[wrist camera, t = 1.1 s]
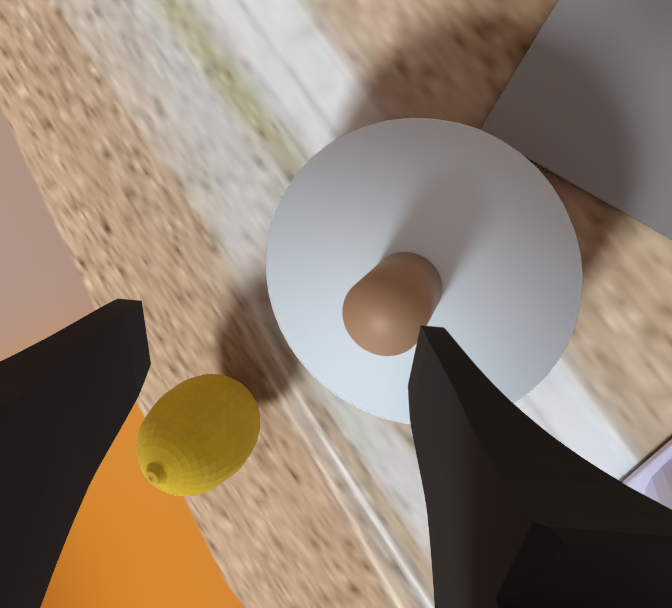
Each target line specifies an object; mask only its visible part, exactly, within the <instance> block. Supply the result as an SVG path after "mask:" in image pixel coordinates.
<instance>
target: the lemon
mask: <svg viewBox="0 0 672 608" xmlns="http://www.w3.org/2000/svg"><path fill="white" fill-rule="evenodd" d="M259 430H260V413H259V409H258V406H257V403H256V401H255V399H254V397H253V395H252V394H251V393H250V391H249V390H248V389H247V388H246V387H245V386H244V385H243V384H241V383H240V382H239V381H237V380H235V379H233V378H230V377H227V376H224V375H218V374H206V375H201V376H197V377H194V378H190V379H188V380H185V381H184V382H182V383H180V384H178V385H177V386H175V387H174V388H173V389H171V390H170V391H168V392H167V393H166V394H165V395H163V396H162V397H161V398H160V399H159V400H158V401H157V403H156V404H155V405H154V406H153V408H152V409H151V410H150V412H149V413H148V415H147V416H146V418H145V419H144V421H143V422H142V424H141V427H140V430H139V434H138V437H137V444H136V450H137V451H136V452H137V459H138V463H139V466H140V468H141V470H142V472H143V474H144V476H145V477H146V478H147V480H148V481H149V482H150V483H151V484H152V485H154V486H155V487H157V488H158V489H160V490H162V491H164V492H166V493H169V494H172V495H176V496H193V495H198V494H201V493H204V492H207V491H210V490H211V489H213V488H215V487H217V486H218V485H220V484H221V483H223V482H224V481H225V480H227V479H228V478H229V477H231V476H232V475H233V474H234V473H236V472H237V471H238V470H239V469H240V468H241V467H242V465H243V464H244V463H245V461H246V460H247V458H248V457H249V455H250V454H251V452H252V450H253V449H254V447H255V444H256V442H257V438H258V434H259Z"/></svg>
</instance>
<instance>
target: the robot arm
mask: <svg viewBox="0 0 672 608" xmlns="http://www.w3.org/2000/svg"><path fill="white" fill-rule="evenodd" d="M150 365H151V361H150V355H149V348H148V341H147V334H146V327H145V321H144V314H143V307H142V301H137V300H126V299H116V300H114V301H112V302H110V303H108V304H106V305H104V306H103V307H101V308H99V309H97V310H95V311H94V312H92V313H90V314H88V315H87V316H85V317H83V318H81V319H80V320H78V321H76V322H75V323H73V324H71V325H69V326H67V327H66V328H64V329H62V330H60V331H58V332H57V333H55V334H53V335H51V336H50V337H48V338H46V339H44V340H42V341H40V342H38V343H36V344H34V345H32V346H30V347H28V348H27V349H25V350H23V351H21V352H19V353H17V354H15V355H13V356H11V357H9V358H7V359H5V360H3V361H0V608H40V607H41V604H42V601H43V598H44V596H45V593H46V591H47V588H48V585H49V582H50V580H51V577H52V574H53V572H54V569H55V566H56V564H57V561H58V559H59V556H60V554H61V551H62V549H63V546H64V544H65V541H66V539H67V536H68V534H69V531H70V529H71V526H72V524H73V521H74V519H75V517H76V514H77V512H78V510H79V508H80V505H81V503H82V500H83V498H84V496H85V494H86V491H87V489H88V487H89V485H90V483H91V481H92V479H93V477H94V475H95V473H96V471H97V469H98V467H99V466H100V464H101V462H102V460H103V458H104V457H105V455H106V453H107V451H108V450H109V448H110V446H111V444H112V443H113V441H114V439H115V437H116V436H117V434H118V432H119V430H120V429H121V427H122V425H123V423H124V422H125V420H126V418H127V416H128V414H129V412H130V411H131V409H132V407H133V405H134V403H135V402H136V400H137V398H138V396H139V394H140V391H141V389H142V386H143V384H144V381H145V378H146V376H147V373H148V370H149V368H150ZM408 400H409V415H410V423H411V428H412V434H413V439H414V444H415V449H416V454H417V459H418V464H419V469H420V474H421V479H422V484H423V489H424V494H425V501H426V507H427V514H428V525H429V536H430V547H431V559H432V572H433V585H434V600H435V608H672V439H671V440H670V441H669V442H667V443H666V444H665V445H664V446H663V447H662V448H661V449H659V450H658V451H657V452H656V453H655V454H654V455H653V456H651V457H650V458H649V459H648V460H647V461H646V462H644V463H643V464H642V465H641V466H640V467H639V468H638V469H636V470H635V471H634V472H633V473H632V474H631V475H630V476H628V477H627V478H626V479H625V480H624V481H623V482H620V481H619V480H617V479H615V478H614V477H612V476H610V475H609V474H607V473H605V472H604V471H602V470H600V469H599V468H597V467H596V466H594V465H593V464H591V463H590V462H588V461H587V460H585V459H584V458H582V457H581V456H579V455H578V454H576V453H575V452H573V451H572V450H571V449H569V448H568V447H566V446H565V445H564V444H562V443H561V442H559V441H558V440H557V439H555V438H554V437H553V436H551V435H550V434H549V433H547V432H546V431H545V430H544V429H542V428H541V427H540V426H539V425H538V424H536V423H535V422H534V421H533V420H532V419H530V418H529V417H528V416H527V415H526V414H524V413H523V412H522V411H521V410H520V409H519V408H518V407H517V406H515V405H514V404H513V403H512V402H511V401H510V400H509V399H508V398H507V397H506V396H505V395H504V394H503V393H502V392H501V391H500V390H499V389H498V388H497V387H496V386H495V385H494V384H493V383H492V382H491V381H490V380H489V379H488V378H487V377H486V376H485V374H484V373H483V372H482V371H481V370H480V369H479V368H478V367H477V366H476V364H475V363H474V362H473V361H472V360H471V359H470V358H469V356H468V355H467V354H466V353H465V352H464V350H463V349H462V348H461V347H460V346H459V344H458V343H457V342H456V341H455V340H454V338H453V337H452V336H451V335H450V334H449V332H448V331H447V330H446V329H445V328H444V327H435V326H424V325H421V326H420V331H419V335H418V340H417V345H416V349H415V354H414V359H413V363H412V368H411V373H410V377H409V382H408Z"/></svg>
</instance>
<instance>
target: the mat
mask: <svg viewBox="0 0 672 608" xmlns="http://www.w3.org/2000/svg"><path fill="white" fill-rule="evenodd" d="M480 130H483V131H485V132H487V133H489V134H491V135H493V136H495V137H497V138H499V139H501V140H503V141H504V142H506V143H507V144H509V145H510V146H512V147H513V148H515V149H516V150H518V151H519V152H521V153H522V154H523V155H524V156H525V157H527V158H529V159H530V160H532V161H534V162H536V163H537V164H539V165H541V166H543V167H544V168H546V169H548V170H550V171H551V172H553V173H555V174H557V175H558V176H560V177H562V178H564V179H566V180H567V181H569V182H571V183H573V184H574V185H576V186H578V187H580V188H581V189H583V190H585V191H587V192H588V193H590V194H592V195H594V196H595V197H597V198H599V199H601V200H602V201H604V202H606V203H608V204H610V205H611V206H613V207H615V208H617V209H618V210H620V211H622V212H624V213H625V214H627V215H629V216H631V217H632V218H634V219H636V220H638V221H639V222H641V223H643V224H645V225H646V226H648V227H650V228H652V229H654V230H655V231H657V232H659V233H661V234H662V235H664V236H666V237H668V238H669V239H671V240H672V0H558V1H557V3H556V5H555V6H554V8H553V10H552V11H551V13H550V15H549V16H548V18H547V20H546V21H545V23H544V25H543V26H542V28H541V30H540V31H539V33H538V34H537V36H536V38H535V39H534V41H533V43H532V44H531V46H530V48H529V49H528V51H527V53H526V54H525V56H524V58H523V59H522V61H521V63H520V64H519V66H518V68H517V69H516V71H515V72H514V74H513V76H512V77H511V79H510V81H509V82H508V84H507V86H506V87H505V89H504V91H503V92H502V94H501V96H500V97H499V99H498V101H497V102H496V104H495V105H494V107H493V109H492V110H491V112H490V114H489V115H488V117H487V119H486V120H485V122H484V124H483V125H482V127H481V129H480Z"/></svg>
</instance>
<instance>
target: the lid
mask: <svg viewBox="0 0 672 608" xmlns="http://www.w3.org/2000/svg"><path fill="white" fill-rule="evenodd" d="M266 279H267V286H268V293H269V297H270V301H271V305H272V309H273V312H274V315H275V317H276V320H277V322H278V325H279V327H280V330H281V332H282V333H283V335H284V337H285V339H286V341H287V343H288V345H289V346H290V348H291V349H292V351H293V352H294V354H295V355H296V356H297V358H298V359H299V361H300V362H301V363H302V364H303V365H304V366H305V368H306V369H307V370H308V371H309V372H310V373H311V374H312V375H313V376H314V377H315V378H316V379H317V380H318V381H319V382H320V383H321V384H322V385H323V386H325V387H326V388H327V389H329V390H330V391H331V392H332V393H334V394H335V395H336V396H338V397H339V398H341V399H343V400H344V401H346V402H348V403H349V404H351V405H353V406H355V407H357V408H359V409H361V410H363V411H365V412H367V413H369V414H372V415H375V416H378V417H381V418H384V419H387V420H391V421H396V422H400V423H405V424H411V423H410V415H409V400H408V382H409V377H410V373H411V368H412V363H413V359H414V354H415V349H416V345H417V340H418V335H419V331H420V326H421V325H424V326H435V327H444V328H445V329H446V330H447V331H448V332H449V334H450V335H451V336H452V337H453V338H454V340H455V341H456V342H457V343H458V344H459V346H460V347H461V348H462V349H463V350H464V352H465V353H466V354H467V355H468V356H469V358H470V359H471V360H472V361H473V362H474V363H475V364H476V366H477V367H478V368H479V369H480V370H481V371H482V372H483V373H484V374H485V376H486V377H487V378H488V379H489V380H490V381H491V382H492V383H493V384H494V385H495V386H496V387H497V388H498V389H499V390H500V391H501V392H502V393H503V394H504V395H505V396H506V397H507V398H508V399H509V400H510V401H511V402H512V403H515V402H516V401H518V400H519V399H520V398H522V397H523V396H524V395H526V394H527V393H528V392H530V391H531V390H532V389H533V388H534V387H535V386H536V385H537V384H539V383H540V382H541V381H542V380H543V379H544V378H545V377H546V376H547V374H548V373H549V372H550V370H551V369H552V368H553V367H554V365H555V364H556V363H557V361H558V360H559V359H560V357H561V355H562V353H563V351H564V350H565V348H566V346H567V344H568V342H569V341H570V338H571V335H572V333H573V330H574V327H575V325H576V322H577V318H578V314H579V309H580V304H581V299H582V283H583V273H582V262H581V253H580V249H579V245H578V241H577V237H576V233H575V230H574V227H573V225H572V223H571V220H570V218H569V215H568V213H567V211H566V208H565V206H564V204H563V203H562V201H561V199H560V198H559V196H558V194H557V193H556V191H555V190H554V188H553V186H552V185H551V184H550V182H549V181H548V180H547V179H546V178H545V176H544V175H543V174H542V173H541V171H540V170H539V169H538V168H537V167H536V166H535V165H534V164H533V163H532V162H531V161H529V160H528V159H527V158H526V157H525V156H524V155H523V154H522V153H521V152H519V151H518V150H516V149H515V148H513V147H512V146H510V145H509V144H507V143H506V142H504V141H503V140H501V139H499V138H497V137H495V136H493V135H491V134H489V133H487V132H485V131H483V130H480V129H478V128H474V127H471V126H468V125H465V124H462V123H458V122H452V121H446V120H440V119H433V118H402V119H394V120H385V121H382V122H378V123H374V124H371V125H367V126H364V127H361V128H359V129H357V130H354V131H352V132H350V133H347V134H345V135H343V136H342V137H340V138H338V139H337V140H335V141H333V142H332V143H330V144H328V145H327V146H326V147H324V148H323V149H322V150H321V151H319V152H318V153H317V154H316V155H315V156H313V157H312V158H311V159H310V160H309V161H308V162H307V163H306V164H305V165H304V167H303V168H302V169H301V170H300V171H299V172H298V173H297V174H296V176H295V177H294V179H293V180H292V182H291V183H290V184H289V186H288V187H287V189H286V191H285V193H284V194H283V196H282V198H281V200H280V202H279V204H278V206H277V209H276V212H275V215H274V217H273V220H272V223H271V227H270V232H269V236H268V241H267V251H266Z"/></svg>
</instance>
